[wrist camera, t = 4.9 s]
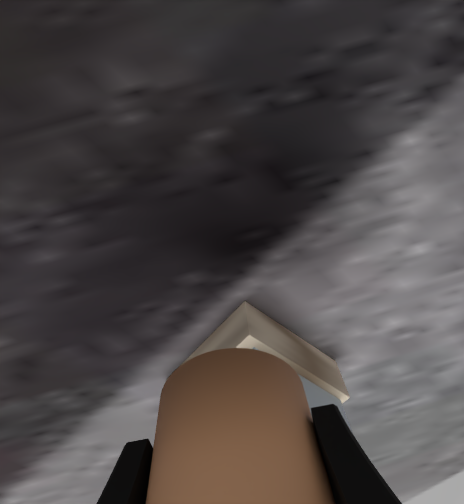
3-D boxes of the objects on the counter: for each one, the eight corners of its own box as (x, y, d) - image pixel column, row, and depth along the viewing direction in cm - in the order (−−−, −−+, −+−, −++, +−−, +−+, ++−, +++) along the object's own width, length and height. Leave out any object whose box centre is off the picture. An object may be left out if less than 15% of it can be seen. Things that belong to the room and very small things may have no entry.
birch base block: (167, 374, 23) (161, 417, 20) (244, 297, 20) (249, 334, 18) (255, 420, 25) (261, 464, 22) (333, 356, 23) (350, 397, 20)
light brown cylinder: (131, 413, 12) (86, 626, 8) (222, 322, 10) (232, 523, 6) (240, 464, 13) (256, 667, 9) (334, 391, 12) (406, 593, 8)
